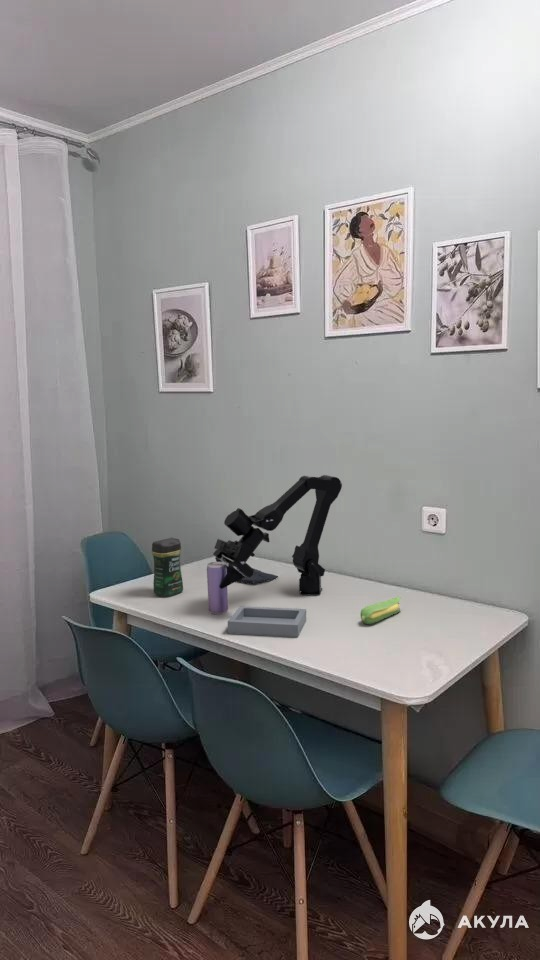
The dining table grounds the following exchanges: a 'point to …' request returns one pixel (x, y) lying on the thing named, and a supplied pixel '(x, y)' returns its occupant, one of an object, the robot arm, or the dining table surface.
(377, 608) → the edible corn
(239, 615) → the tray
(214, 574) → the beverage can
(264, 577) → the dark slate chunk
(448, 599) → the dining table surface
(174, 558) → the coffee jar
